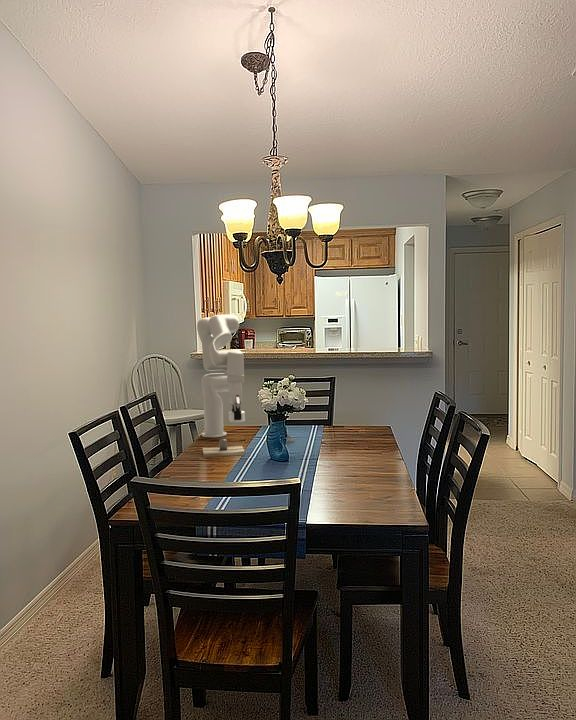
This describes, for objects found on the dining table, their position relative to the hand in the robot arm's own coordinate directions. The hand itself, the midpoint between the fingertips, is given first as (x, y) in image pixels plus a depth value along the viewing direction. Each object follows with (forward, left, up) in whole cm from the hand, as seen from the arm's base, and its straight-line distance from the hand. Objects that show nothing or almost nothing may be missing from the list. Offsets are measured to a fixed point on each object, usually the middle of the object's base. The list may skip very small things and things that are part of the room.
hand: (236, 418), depth 293 cm
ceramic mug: (-17, +23, -16) cm, 33 cm away
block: (0, -6, -16) cm, 17 cm away
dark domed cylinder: (0, -6, -14) cm, 15 cm away
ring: (0, 0, -1) cm, 1 cm away
